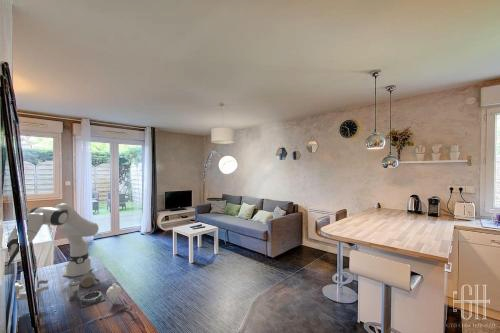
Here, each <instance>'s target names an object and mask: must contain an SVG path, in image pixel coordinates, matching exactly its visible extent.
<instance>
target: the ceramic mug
mask: <svg viewBox="0 0 500 333" xmlns="http://www.w3.org/2000/svg"><path fill="white" fill-rule="evenodd" d="M100 282H101V280H100V279H99V278H96V274H95V272H92V271H89V272H88V273H86V274H83V275H82V277H81V282H80V283H81V287H83V288H90V287H92V286H94V285H95V286H97V285H99V284H100Z"/></svg>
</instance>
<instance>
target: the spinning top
mask: <svg viewBox="0 0 500 333" xmlns="http://www.w3.org/2000/svg"><path fill="white" fill-rule="evenodd" d="M121 292H122V288H121V286H120V285H117V283H112V284H111V286H109V288H107V290H106V296H107V298H108V299H109V301H111V302H112V304H115V301H116V300H117V299H118V298H119V297H120V294H121Z"/></svg>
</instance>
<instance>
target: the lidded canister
mask: <svg viewBox="0 0 500 333" xmlns="http://www.w3.org/2000/svg"><path fill="white" fill-rule="evenodd" d="M79 296H80V280H75V279H74V280H72V281H70V282H69V283H68V301H69V302H72V301H76V300H78V298H80V297H79Z"/></svg>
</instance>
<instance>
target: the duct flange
mask: <svg viewBox="0 0 500 333" xmlns="http://www.w3.org/2000/svg"><path fill="white" fill-rule="evenodd" d="M77 300H78V302H79V303H78V304H79V305H80V309H83V308H85V307H89V306H93V305H95V304H98V303H101V302H104V301H106V298H105V296H104V294H103V292H102V291H98V290H95V291H94V290H93V291H90V292H87V293H85V294H84V295H82V296H81V297H79V298H78V299H77Z"/></svg>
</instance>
